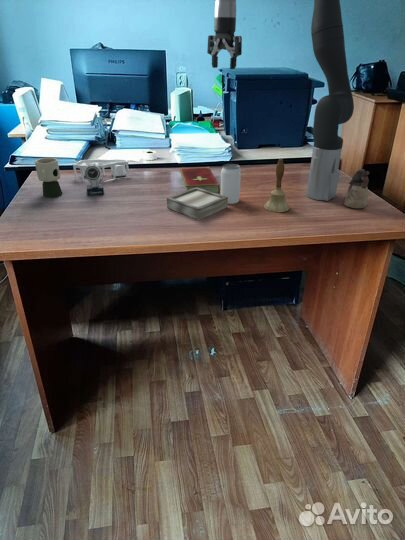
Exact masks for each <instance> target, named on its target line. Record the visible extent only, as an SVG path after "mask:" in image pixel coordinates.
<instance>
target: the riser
mask: <svg viewBox="0 0 405 540" xmlns="http://www.w3.org/2000/svg"><path fill="white" fill-rule="evenodd" d="M228 205H229V204H228V197H226V196H223V195H221V193H213V192H210V191H207V190H204V189H200V188H197V187H195V188H193V189H190V190H187V191H186V190H185V191H182V192H179V193H176V194H173V195H171V196H169V197H166V208H168V209H171V210H172V211H175V212H178V213H180V214H182V215H185V216H187V215H188V216H187V217H190V216H191V217H190V218H192V217H193V218H192V219H195V218H196V219H195V220H197V219H200V220H202V219H204V217H205V218H206V216H207V217H209V216H211V215H214V214H216V213H218V212H220V211H223V210H224V209H226V208H228ZM213 213H214V214H213ZM208 215H209V216H208ZM201 218H202V219H201Z"/></svg>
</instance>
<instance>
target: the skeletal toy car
mask: <svg viewBox="0 0 405 540" xmlns="http://www.w3.org/2000/svg"><path fill="white" fill-rule="evenodd" d="M91 163H95V165H97V167H98V169H99V171H100V172H101V173H102V174H100V177H99V182H98V183H100V180H102V179H103V178H102V176H106V172H105V171H106V170H105V168H110V172H111V173H110V174H111V175H112V176H113V178H112V181H114V180H118V179H120V177H123V176H124V177H126V179H129V178H130V170H129V161H128V160H127V159H121V158H115V159H114V158H113V159H112V158H111V159H99V158H98V159H93V158H92V159H81V160H79V161H77V162H74V163H73V164H72V167H73V173H74V179H75V181H78V174H77V169H80V170H79V171H80V174H81V181H82V182H83V183H85V177H86V175H85V171H86V169H87V166H88V164H91ZM101 169H102V170H101ZM108 181H109V182H110V181H111V179H108V180H105V181H104V182H108Z"/></svg>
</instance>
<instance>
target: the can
mask: <svg viewBox="0 0 405 540" xmlns="http://www.w3.org/2000/svg"><path fill="white" fill-rule="evenodd" d="M241 170H242V169H241V165H239V164H235V163H226V164H223V165H222V169H221V170H220V195H223V196H226V197H228V205H234V204H237V203H239V202H240V197H241V196H240V194H241V174H242V171H241Z"/></svg>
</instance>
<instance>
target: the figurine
mask: <svg viewBox="0 0 405 540" xmlns="http://www.w3.org/2000/svg"><path fill="white" fill-rule="evenodd" d="M369 175H370V171H368V170H367V171H366V170H365V169H364V168H363V169H361V168H360V169H358V170H357V171H356V172H354V175H353V176H352V177H351V180H350V181H349V183H348V184H349V186H348V188H347V192H346V194H345V197H344V200H343V204H344V206H345V207H348V208H351V209H363V208H366V206H367V204H368V199H369V197H368V196H369V189H368V185H369V181H370V180H369V177H368V176H369Z"/></svg>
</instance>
